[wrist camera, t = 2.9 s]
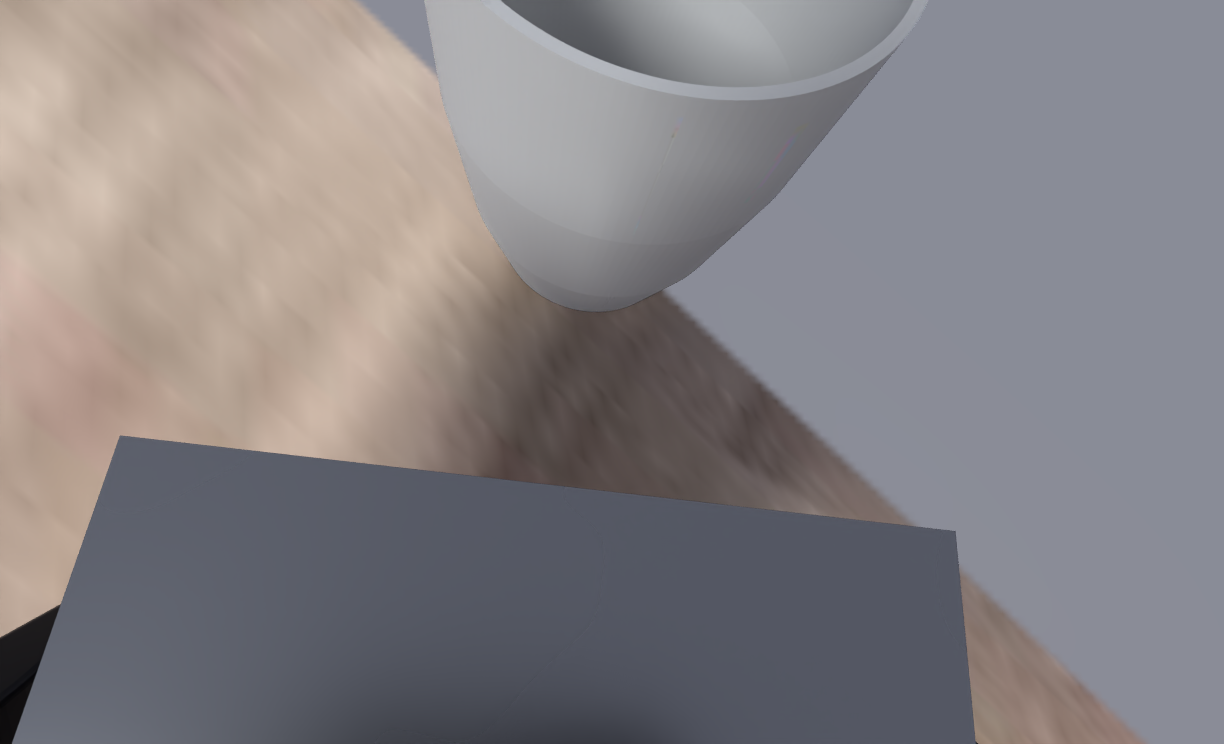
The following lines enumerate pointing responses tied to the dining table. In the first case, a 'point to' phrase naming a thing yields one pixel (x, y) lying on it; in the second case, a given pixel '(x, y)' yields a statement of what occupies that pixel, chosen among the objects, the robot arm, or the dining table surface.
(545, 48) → the cup
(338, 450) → the dining table surface
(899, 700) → the grey tall block
